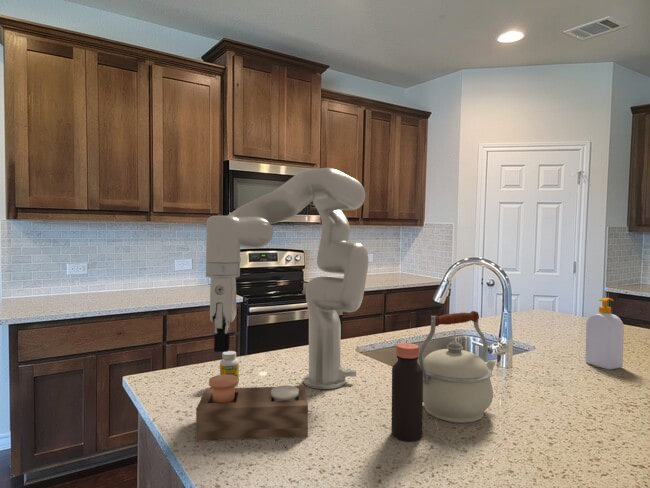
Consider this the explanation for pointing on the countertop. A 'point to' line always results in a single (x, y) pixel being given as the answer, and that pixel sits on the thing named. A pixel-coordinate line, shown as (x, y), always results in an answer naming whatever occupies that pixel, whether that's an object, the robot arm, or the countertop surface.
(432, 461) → the countertop surface
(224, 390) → the orange-brown round piece
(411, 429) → the vinegar
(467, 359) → the kettle
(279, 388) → the cream button
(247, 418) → the wooden shaker caddy
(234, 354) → the supplement bottle
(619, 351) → the soap bottle
